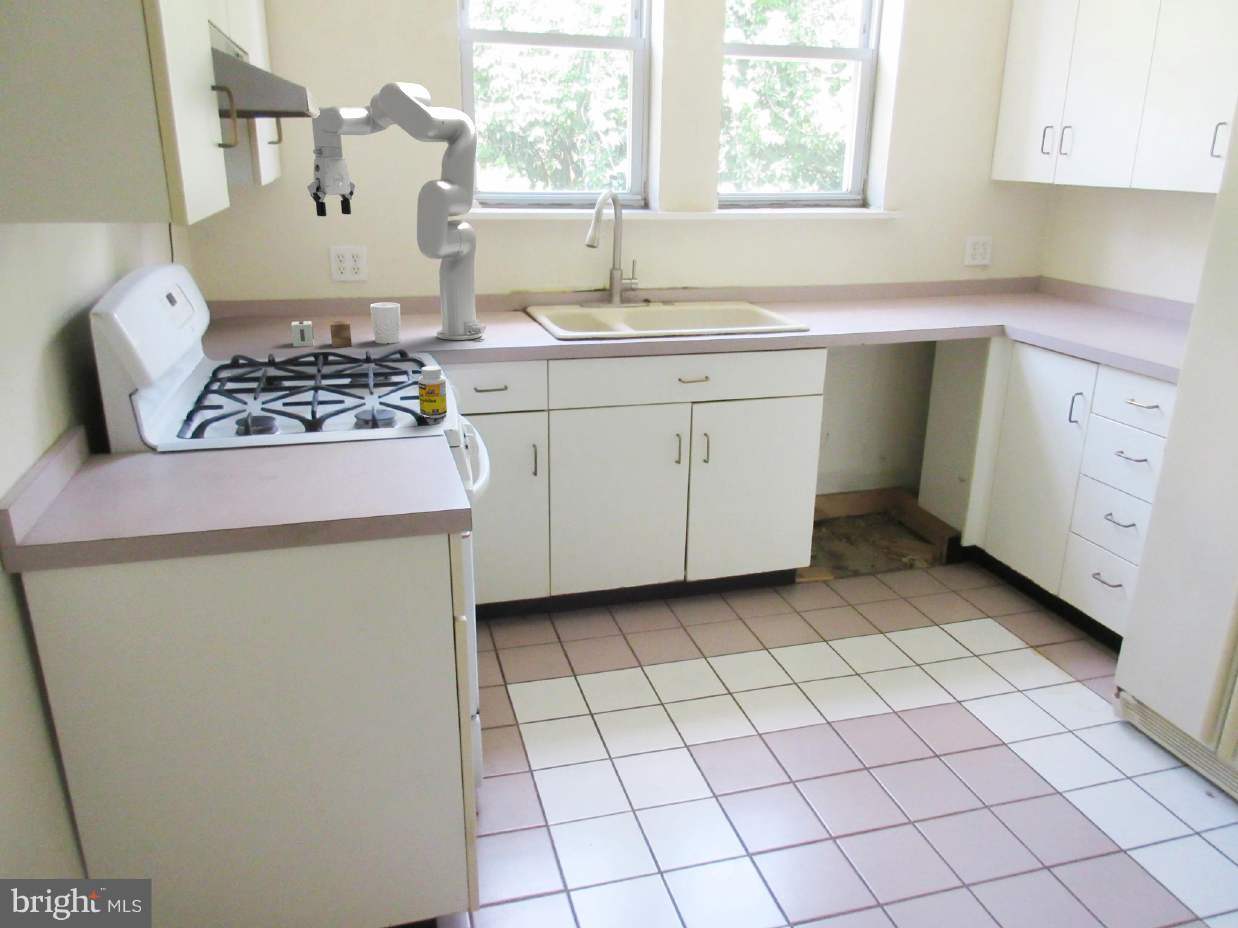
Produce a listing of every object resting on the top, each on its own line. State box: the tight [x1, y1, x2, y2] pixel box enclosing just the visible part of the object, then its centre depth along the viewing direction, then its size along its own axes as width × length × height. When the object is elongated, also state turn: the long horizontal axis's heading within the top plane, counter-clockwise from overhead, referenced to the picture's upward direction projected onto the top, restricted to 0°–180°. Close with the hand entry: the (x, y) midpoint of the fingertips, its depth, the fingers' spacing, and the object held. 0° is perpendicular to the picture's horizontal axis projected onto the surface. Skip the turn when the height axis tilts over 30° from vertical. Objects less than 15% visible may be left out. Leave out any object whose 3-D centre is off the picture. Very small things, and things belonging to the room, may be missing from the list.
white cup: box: [369, 302, 401, 345], centre depth 245 cm, size 8×8×10 cm
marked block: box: [290, 320, 314, 348], centre depth 241 cm, size 5×5×6 cm
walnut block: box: [329, 320, 353, 348], centre depth 241 cm, size 5×5×6 cm
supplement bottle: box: [417, 365, 448, 419], centre depth 179 cm, size 5×5×10 cm
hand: (334, 215), depth 264 cm, fingers open, 9 cm apart
